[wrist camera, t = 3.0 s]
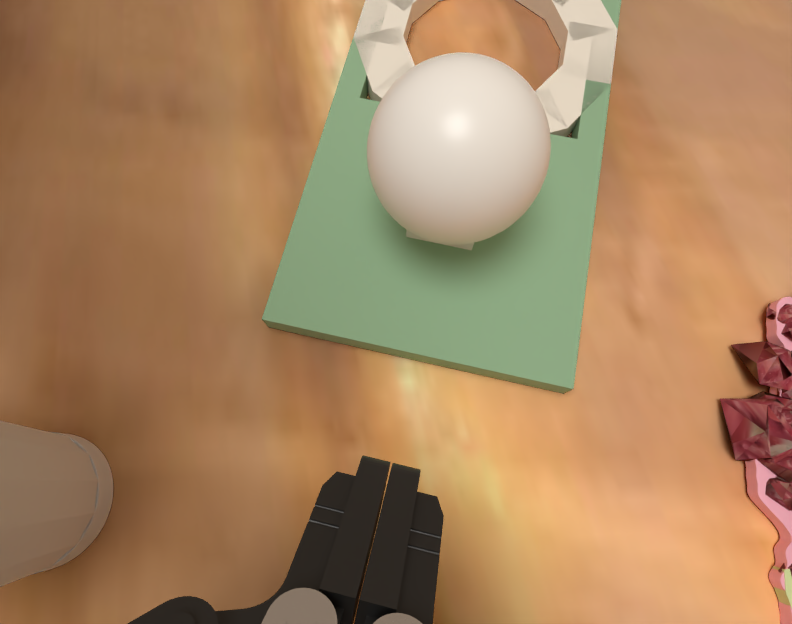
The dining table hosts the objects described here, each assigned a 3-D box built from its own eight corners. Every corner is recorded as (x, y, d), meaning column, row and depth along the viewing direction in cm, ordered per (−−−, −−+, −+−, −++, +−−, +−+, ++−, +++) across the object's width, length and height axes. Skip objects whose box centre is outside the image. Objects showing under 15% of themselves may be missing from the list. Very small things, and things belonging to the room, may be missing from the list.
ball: (342, 179, 26) (321, 60, 19) (467, 112, 28) (494, -24, 20) (425, 300, 24) (438, 222, 17) (556, 222, 26) (623, 116, 18)
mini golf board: (563, 393, 26) (782, 291, 11) (268, 327, 27) (116, 154, 12) (617, -28, 35) (780, -393, 20) (393, -65, 36) (391, -438, 21)
